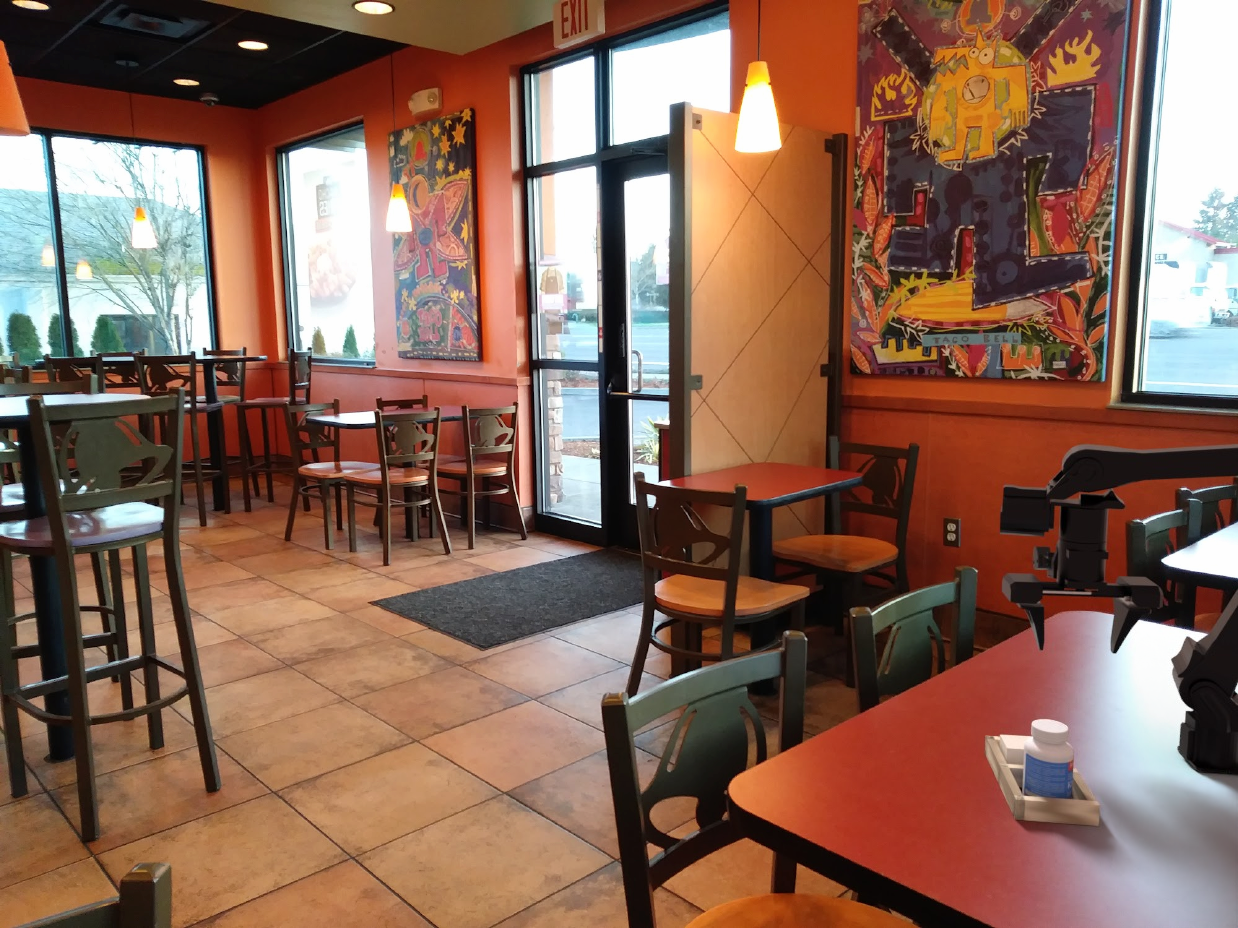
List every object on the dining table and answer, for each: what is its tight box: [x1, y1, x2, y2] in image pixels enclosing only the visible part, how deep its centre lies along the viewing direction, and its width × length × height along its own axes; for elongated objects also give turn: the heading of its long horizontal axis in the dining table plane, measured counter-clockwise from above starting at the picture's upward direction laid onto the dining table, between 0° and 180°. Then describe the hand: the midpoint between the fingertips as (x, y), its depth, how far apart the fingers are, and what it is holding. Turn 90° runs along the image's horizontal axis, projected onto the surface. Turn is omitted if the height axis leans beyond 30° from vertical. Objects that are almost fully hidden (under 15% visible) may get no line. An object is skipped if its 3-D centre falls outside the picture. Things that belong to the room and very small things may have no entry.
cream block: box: [999, 734, 1033, 765], centre depth 116 cm, size 4×4×4 cm
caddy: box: [984, 735, 1101, 827], centre depth 111 cm, size 9×17×2 cm, turn 169°
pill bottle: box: [1021, 718, 1075, 799], centre depth 107 cm, size 6×5×10 cm
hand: (1076, 650), depth 122 cm, fingers open, 9 cm apart
